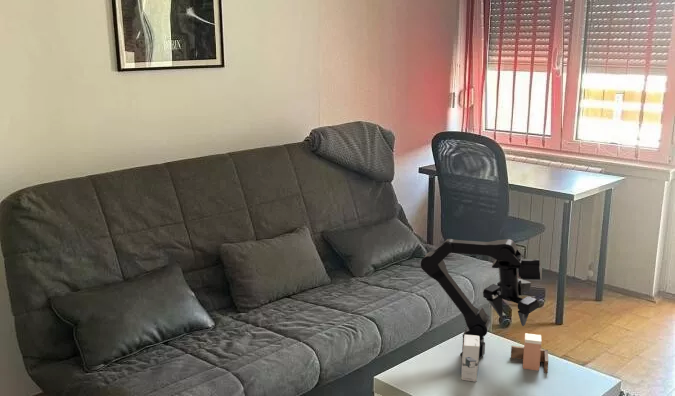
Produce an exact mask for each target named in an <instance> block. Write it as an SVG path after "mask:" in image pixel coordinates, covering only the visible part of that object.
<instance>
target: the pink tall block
mask: <svg viewBox="0 0 675 396" xmlns="http://www.w3.org/2000/svg"><path fill="white" fill-rule="evenodd" d="M523 347H524V355H523V359H522V369H524V370H531V371H540V367H541V366H540V365H541V362H540V354H541V349H542V334H534V333H526V332H525V333H524V344H523Z"/></svg>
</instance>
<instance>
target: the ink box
mask: <svg viewBox="0 0 675 396" xmlns="http://www.w3.org/2000/svg"><path fill="white" fill-rule="evenodd" d="M463 334H464V333H463ZM462 346H463V355H462V356H461V357H462V358H461V372H460V373H461V376H460V377H461V380H462V381H467V382H468V381H469V382H477V381H478V379H477V377H478V370H479V369H478V368H479V361H480V359H479V348H480V336H477V335H465V334H464V343H463V342H462Z"/></svg>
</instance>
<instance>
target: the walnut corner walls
mask: <svg viewBox="0 0 675 396" xmlns="http://www.w3.org/2000/svg"><path fill="white" fill-rule="evenodd" d="M523 355H524V346H517V345H511V347H510V358H511V359H515V358H517V359H516V360H523ZM540 363H543V372H544V373H545V374H548V373H549V351H548V349H544V348H541V354H540Z"/></svg>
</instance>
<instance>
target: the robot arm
mask: <svg viewBox="0 0 675 396" xmlns="http://www.w3.org/2000/svg"><path fill="white" fill-rule="evenodd" d="M450 254H462V255H473V256H474V255H475V256H476V255H478V256H486V257H488V258H489V257H490V258H491V259H494V261H493V262H492V264H491V268H492V269H498V276H499V278H498V279H499V281H498V282H496V283H492V284H491V285H489V286H486V287H485V288H484V289H483V291H482V296H483V298H485V299H486V301H487V302H489V304H490V305H491V307H492V308H493V310H494V311H495V312H496V314H497V315H498V317H499V318H502V317H503V316H504V315H503V314H504V311H503V300H505V301H507V302H512V303H515V304H517V314H518V317H519V318H518V319H519V321H520V323H521V326H522V327H524V326H526V323H527V320H528V317H529V315H530V314H531V313H533V312H534V311H535V310H537V309H539V308H540V301H539V300H538V299H537V298H534V297H531V296H528V295H527V296H526V297H525V298H523V297H520V296H522V295H524V293H525V292H526V293H530V292H531V285H532V282H531V281H542V279H543V277H542V276H543V267H542V263H541V259H540V258H525V257H524V255H523V254H522V252H520V250H518V247H517V244H516V243H515V242H514V240H513V239H509V238H507V239H497V240H492V241H479V240H478V241H477V240H462V239H461V240H460V239H453V238H447V239H446V240H445V241H444V242H443V243H442V244H441V245H440V246H438V248H436V249H435V250H434V251H428V252H427V253H426V254H425V255H424V256H423V257H422V259H421V261H420V268H421V270H422V271H423V272H424V273H425V274H426V275H428V277H430V278H431V279H433V280H435V281H436V282H438V284H439V285H440V286H441V288H442V289H443V291H444V292H445V293H446V295H447V296H448V297H449V298H450V300H451V301H452V302H453V304H454V305H455V306H456V308H457V309H458V311H459V312H460V313H461V314H462V316H463V318H464V321H465V325H466V328H465V330H464V331H463V334H462V344H463V343H464V334H465V335H477V336H480V348H479V360H480V359H482V357H483V356H484V355H485V351H486V342H484V341H485V338H484V337H486V335H487V334H488V332H489V329H490V327H491V319H490V315H489V314H488V313H487V312H486V310H485V309H484V308H483V307H480V308H477V307H475V305H473V303H472V302H471V301H470V300H469V298H468V296H466V294H465V293H464V292H463V291H462V289H461V288H460V286H459V284H458V283H456V281H455V279H454V278H453V277H452V276H451V275H450V273H449V271H448V268H447V265H446V263H445V260H444V259H445V258H447V256H448V255H450ZM519 277H520V278H519ZM461 348H462V349H461V352H460V356H461V357H462V355H463V345H462V347H461Z"/></svg>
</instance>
